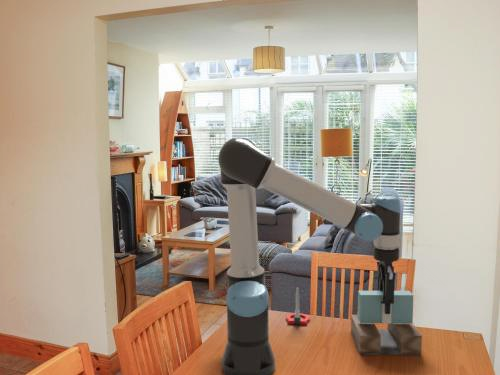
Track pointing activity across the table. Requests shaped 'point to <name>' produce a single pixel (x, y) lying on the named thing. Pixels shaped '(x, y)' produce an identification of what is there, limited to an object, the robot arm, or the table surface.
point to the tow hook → (297, 314)
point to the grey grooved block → (386, 338)
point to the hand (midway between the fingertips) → (384, 319)
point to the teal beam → (373, 308)
